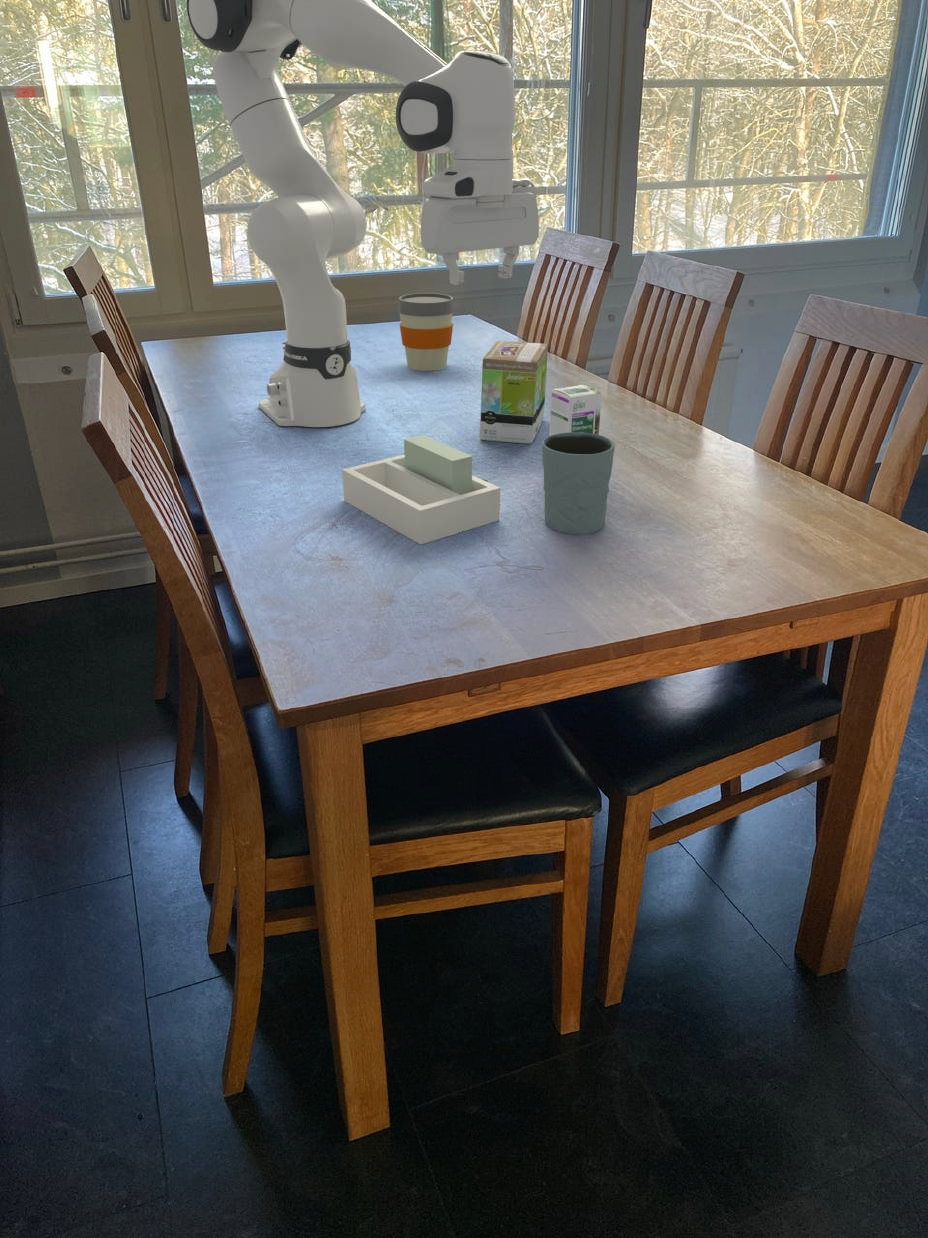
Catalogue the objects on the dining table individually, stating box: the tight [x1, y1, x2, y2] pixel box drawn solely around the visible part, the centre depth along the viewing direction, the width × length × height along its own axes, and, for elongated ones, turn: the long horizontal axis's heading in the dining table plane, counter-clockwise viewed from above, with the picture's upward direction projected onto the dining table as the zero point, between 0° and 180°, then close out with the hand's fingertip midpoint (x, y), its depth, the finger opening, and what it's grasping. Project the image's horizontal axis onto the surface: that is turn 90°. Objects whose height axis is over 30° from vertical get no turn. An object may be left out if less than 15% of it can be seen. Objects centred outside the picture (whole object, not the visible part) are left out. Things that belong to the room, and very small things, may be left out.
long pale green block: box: [403, 434, 473, 495], centre depth 137 cm, size 12×4×8 cm, turn 38°
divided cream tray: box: [341, 454, 501, 545], centre depth 136 cm, size 20×15×5 cm
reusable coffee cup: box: [397, 292, 455, 372], centre depth 208 cm, size 13×13×15 cm
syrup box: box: [548, 384, 602, 436], centre depth 145 cm, size 6×6×14 cm
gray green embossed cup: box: [541, 432, 616, 535], centre depth 131 cm, size 10×10×12 cm
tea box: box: [479, 340, 549, 444], centre depth 167 cm, size 15×10×15 cm, turn 168°
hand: (481, 280), depth 141 cm, fingers open, 8 cm apart
